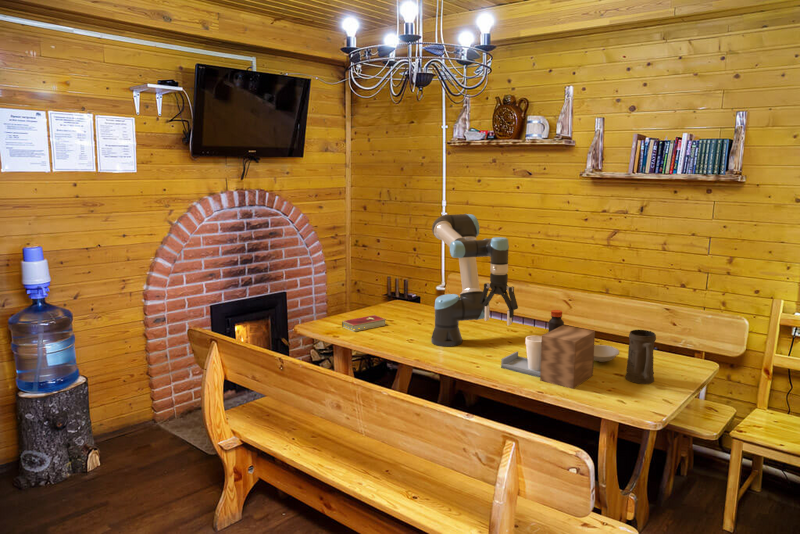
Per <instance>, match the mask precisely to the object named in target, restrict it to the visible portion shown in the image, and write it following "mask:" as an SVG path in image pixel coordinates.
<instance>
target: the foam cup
mask: <svg viewBox="0 0 800 534" xmlns="http://www.w3.org/2000/svg"><path fill="white" fill-rule="evenodd" d="M541 342H542V335H527V336H526V337H525V347H526V356H527V357H526V358H527V359H528V368H529V369H530V370H534V371H540V370H541Z"/></svg>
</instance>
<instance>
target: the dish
mask: <svg viewBox="0 0 800 534" xmlns="http://www.w3.org/2000/svg"><path fill="white" fill-rule="evenodd" d="M618 355H620V350H619V349H618V348H616V347H614V346H612V345H611V346H610V345H605V344H594V361H596V362H599V363H604V362H605V363H606V362H609V361H612V360H614V359H615V358H616V357H617V356H618Z"/></svg>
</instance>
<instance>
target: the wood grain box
mask: <svg viewBox="0 0 800 534" xmlns="http://www.w3.org/2000/svg"><path fill="white" fill-rule="evenodd" d="M595 334H596V330H592V329H587V328H586V329H585V328H579V327H574V326H568V325H565V324H564V325H562V326H560V327H558V328H556V329H554V330H552V331H550V332H548V331H547V332H546V333H544V334H542V335H541V336H542V342H541V372H540V377H539V381H540V382H545V383H548V384H553V385H556V386H560V387H563V388H569V389H571V390H573V389H575V388H578V386H580V385H581V384H583V383H584V382H585V381H587V380H588V379H590V378H591V377H593V375H594V362H595V360H594V345H595V337H596V336H595Z"/></svg>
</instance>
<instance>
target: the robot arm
mask: <svg viewBox="0 0 800 534" xmlns="http://www.w3.org/2000/svg"><path fill="white" fill-rule="evenodd" d="M431 231H432V235H434V237H435V238H436V239H438V240H439V241H440V240H441V241H442V242H443V243H445V244H446V245H447V247H448V248H449V254H450V256H451V257H452V258H454V259H455V258H456V259H458V263H459V265H458V266H459V271H460V272H459V273H460V280H461V288H462V291H461V292H460V293H459V295H458V294H456V293H452V294H451V293H447V294H441V295H439V296H437V297H436V298H435V301H434V328H433V331H432V334H431V338H430V340H431V341H430V342H431V343H432V344H433V345H434V346H435V345H436V346H439V347H454V346H459V345H461V344H462V343H463V337H462V334H461V331H460V328H459V325H460V324H459V322H460V321H461V322H462V321H463V322H464V321H474V320H475V321H478V320H484V321H485V322H486V321H490V302H491V301H492V299H493V297H494V296H495V295H499V296H501V297H502V298H503V300H504V302H505V305H506V306H507V308H508V310H507V312H506V313H507V315H506V316H507V317H506V318H507V319H506V325H507V326H510V325H512V323H513V318H514V314H515V310H518V309H519V305H518V303H517V299H516V294H515V287H514V286H508V281H509V280H508V273H509V248H510V246H509V239H508V238H507V237H502V236H499V237H498V236H497V237H492V238H484V239H477V237H478V236H480V235H479V234H480V223H479V221H478V219H477V217H476V215H474V214H470V213H468V214H467V213H464V214H443V215H441V216H438V217H437V218H436V219H435V220H434V221H433V222H432V225H431ZM483 257H484V258H486V257H487V258H488V257H489V258H490V266H489V267H490V268H489V269H490V276H489V281H490V283H489V282H485V283H484V284H483V289H481V287H480V280H479V274H478V265H477V258H483ZM490 289H491V290H490ZM489 290H490V291H489Z"/></svg>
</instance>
